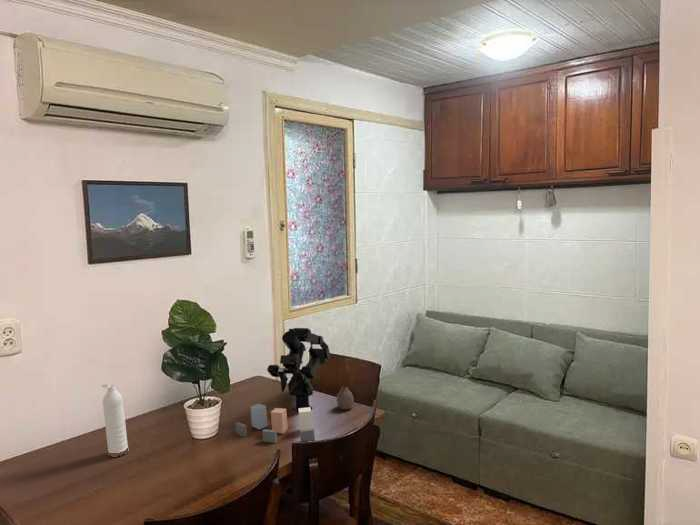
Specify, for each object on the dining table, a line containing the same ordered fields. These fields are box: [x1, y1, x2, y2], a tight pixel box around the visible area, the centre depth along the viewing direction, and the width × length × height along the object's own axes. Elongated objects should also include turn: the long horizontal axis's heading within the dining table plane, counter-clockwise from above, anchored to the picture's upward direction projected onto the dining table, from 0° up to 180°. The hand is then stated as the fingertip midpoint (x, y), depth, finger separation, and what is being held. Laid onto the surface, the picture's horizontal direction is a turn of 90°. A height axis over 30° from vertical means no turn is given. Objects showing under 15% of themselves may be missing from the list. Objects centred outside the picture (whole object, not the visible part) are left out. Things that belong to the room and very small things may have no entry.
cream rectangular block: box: [298, 407, 313, 431], centre depth 199 cm, size 4×4×8 cm
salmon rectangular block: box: [270, 407, 289, 434], centre depth 199 cm, size 4×4×8 cm
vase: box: [336, 386, 354, 411], centre depth 218 cm, size 7×7×9 cm
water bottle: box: [101, 382, 129, 453], centre depth 188 cm, size 9×6×25 cm
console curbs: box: [234, 421, 316, 444], centre depth 194 cm, size 32×6×4 cm, turn 73°
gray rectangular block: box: [250, 403, 268, 430], centre depth 204 cm, size 4×4×8 cm
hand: (286, 391), depth 206 cm, fingers open, 3 cm apart
